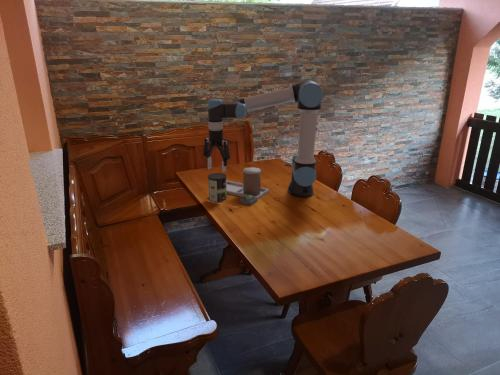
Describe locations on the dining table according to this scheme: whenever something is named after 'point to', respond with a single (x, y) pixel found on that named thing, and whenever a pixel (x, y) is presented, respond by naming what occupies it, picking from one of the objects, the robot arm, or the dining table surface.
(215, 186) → the coffee can
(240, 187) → the pallet board
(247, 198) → the button
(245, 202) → the button box
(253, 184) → the seated tin
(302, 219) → the dining table surface
